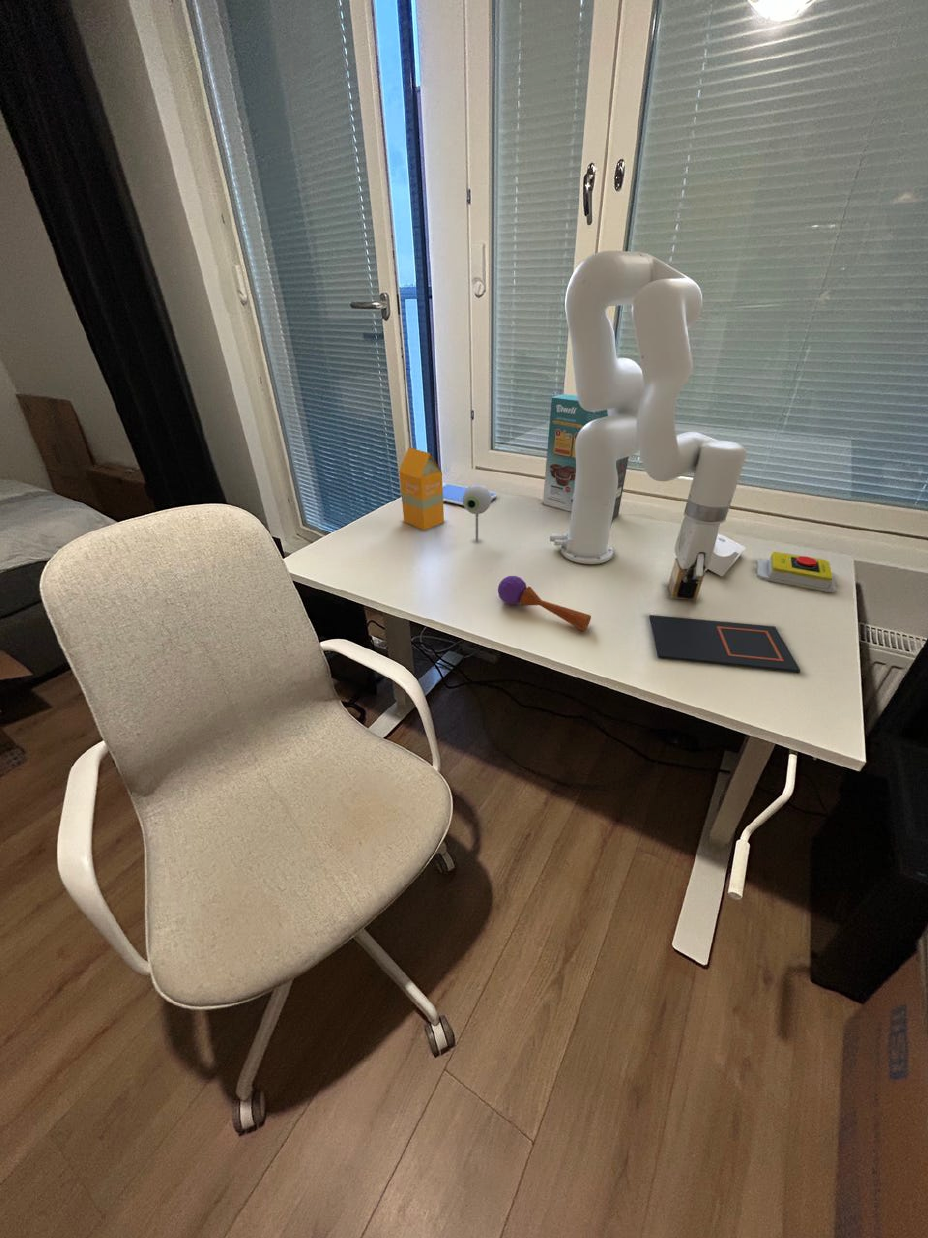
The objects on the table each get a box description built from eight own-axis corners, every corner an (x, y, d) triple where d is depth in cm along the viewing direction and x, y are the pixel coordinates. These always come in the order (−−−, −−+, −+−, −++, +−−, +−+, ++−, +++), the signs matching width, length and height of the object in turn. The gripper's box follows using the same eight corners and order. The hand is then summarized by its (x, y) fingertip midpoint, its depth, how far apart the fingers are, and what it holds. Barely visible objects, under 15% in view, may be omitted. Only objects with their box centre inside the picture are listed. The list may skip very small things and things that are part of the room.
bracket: (719, 579, 109) (738, 553, 104) (691, 563, 112) (708, 537, 107) (737, 559, 117) (756, 534, 112) (710, 544, 120) (727, 519, 115)
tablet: (425, 498, 151) (425, 494, 150) (447, 486, 160) (447, 482, 159) (477, 510, 142) (477, 506, 142) (498, 497, 151) (498, 493, 150)
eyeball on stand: (459, 544, 124) (457, 488, 115) (469, 533, 129) (468, 479, 121) (484, 549, 122) (485, 492, 113) (494, 537, 127) (495, 482, 118)
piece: (671, 598, 102) (680, 563, 97) (667, 586, 106) (676, 552, 101) (696, 600, 101) (707, 566, 96) (691, 588, 105) (702, 554, 100)
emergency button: (844, 575, 100) (763, 560, 105) (835, 593, 102) (756, 578, 108) (839, 556, 106) (763, 544, 112) (831, 574, 109) (757, 560, 115)
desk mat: (658, 658, 85) (659, 655, 85) (649, 617, 96) (650, 614, 96) (799, 673, 82) (800, 669, 81) (774, 628, 92) (775, 625, 92)
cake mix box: (618, 515, 138) (638, 403, 121) (608, 522, 134) (627, 407, 117) (553, 498, 150) (563, 393, 133) (542, 503, 146) (551, 397, 129)
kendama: (581, 622, 88) (492, 582, 97) (577, 643, 92) (492, 603, 101) (596, 603, 91) (508, 566, 100) (592, 624, 95) (508, 587, 105)
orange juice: (423, 513, 141) (419, 444, 130) (444, 522, 136) (441, 450, 124) (403, 521, 136) (396, 450, 125) (424, 530, 131) (419, 456, 120)
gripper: (678, 492, 100) (658, 569, 110) (694, 526, 86) (670, 610, 96) (716, 494, 98) (693, 572, 109) (739, 529, 85) (709, 614, 95)
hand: (682, 589), depth 103 cm, fingers closed on piece, 5 cm apart
